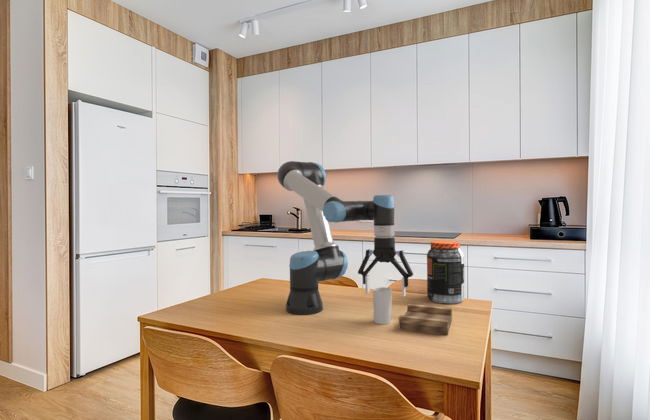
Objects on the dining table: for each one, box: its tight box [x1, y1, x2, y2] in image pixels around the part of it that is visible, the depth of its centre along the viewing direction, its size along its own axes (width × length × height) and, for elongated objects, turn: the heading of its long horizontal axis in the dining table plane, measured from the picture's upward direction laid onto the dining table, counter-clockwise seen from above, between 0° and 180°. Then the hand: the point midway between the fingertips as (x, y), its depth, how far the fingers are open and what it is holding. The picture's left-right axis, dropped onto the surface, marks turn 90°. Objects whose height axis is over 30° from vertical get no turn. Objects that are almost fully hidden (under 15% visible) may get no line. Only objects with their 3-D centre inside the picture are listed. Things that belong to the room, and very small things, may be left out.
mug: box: [372, 286, 393, 325], centre depth 141 cm, size 10×7×12 cm, turn 142°
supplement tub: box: [426, 240, 465, 304], centre depth 168 cm, size 16×16×26 cm
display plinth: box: [398, 303, 453, 336], centre depth 136 cm, size 16×17×4 cm
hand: (385, 294), depth 140 cm, fingers open, 13 cm apart
